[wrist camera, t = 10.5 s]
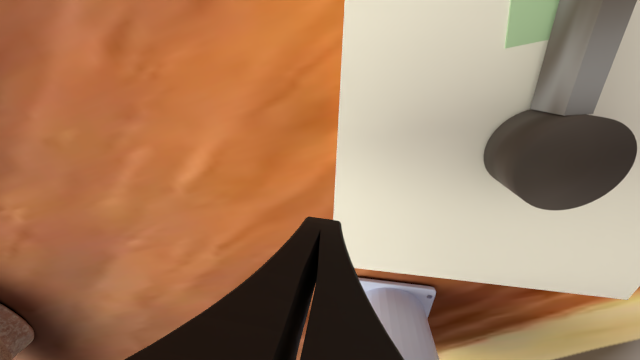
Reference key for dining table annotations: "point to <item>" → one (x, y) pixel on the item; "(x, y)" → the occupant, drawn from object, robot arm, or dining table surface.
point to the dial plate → (470, 149)
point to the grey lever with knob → (568, 115)
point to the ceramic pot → (13, 334)
